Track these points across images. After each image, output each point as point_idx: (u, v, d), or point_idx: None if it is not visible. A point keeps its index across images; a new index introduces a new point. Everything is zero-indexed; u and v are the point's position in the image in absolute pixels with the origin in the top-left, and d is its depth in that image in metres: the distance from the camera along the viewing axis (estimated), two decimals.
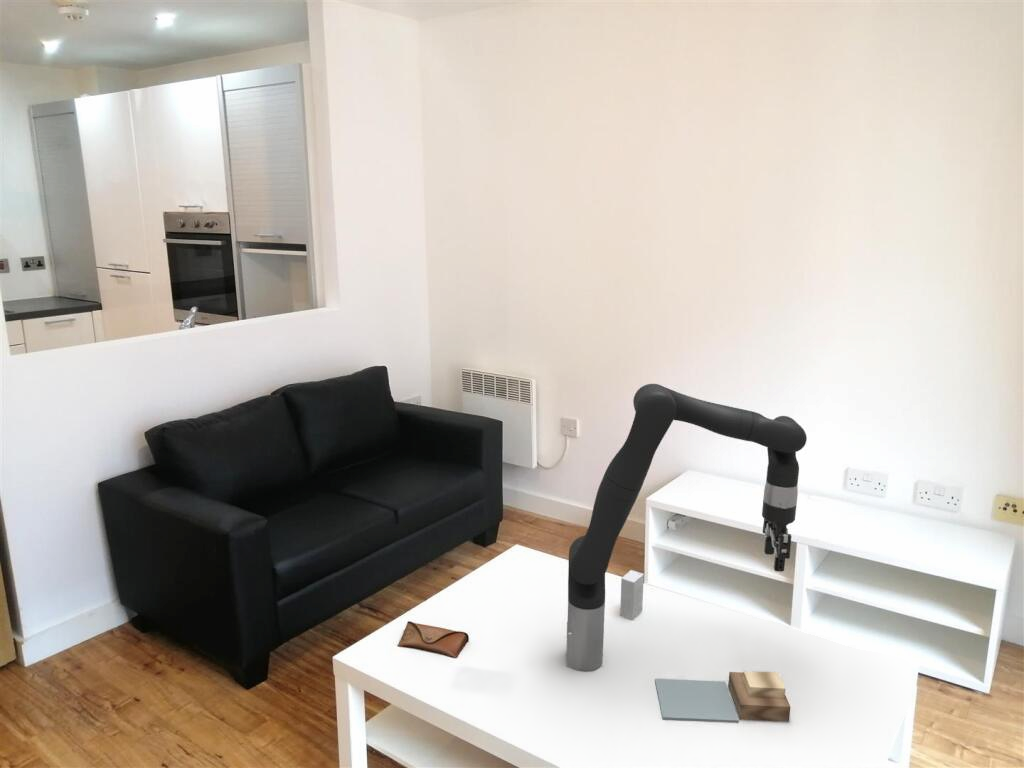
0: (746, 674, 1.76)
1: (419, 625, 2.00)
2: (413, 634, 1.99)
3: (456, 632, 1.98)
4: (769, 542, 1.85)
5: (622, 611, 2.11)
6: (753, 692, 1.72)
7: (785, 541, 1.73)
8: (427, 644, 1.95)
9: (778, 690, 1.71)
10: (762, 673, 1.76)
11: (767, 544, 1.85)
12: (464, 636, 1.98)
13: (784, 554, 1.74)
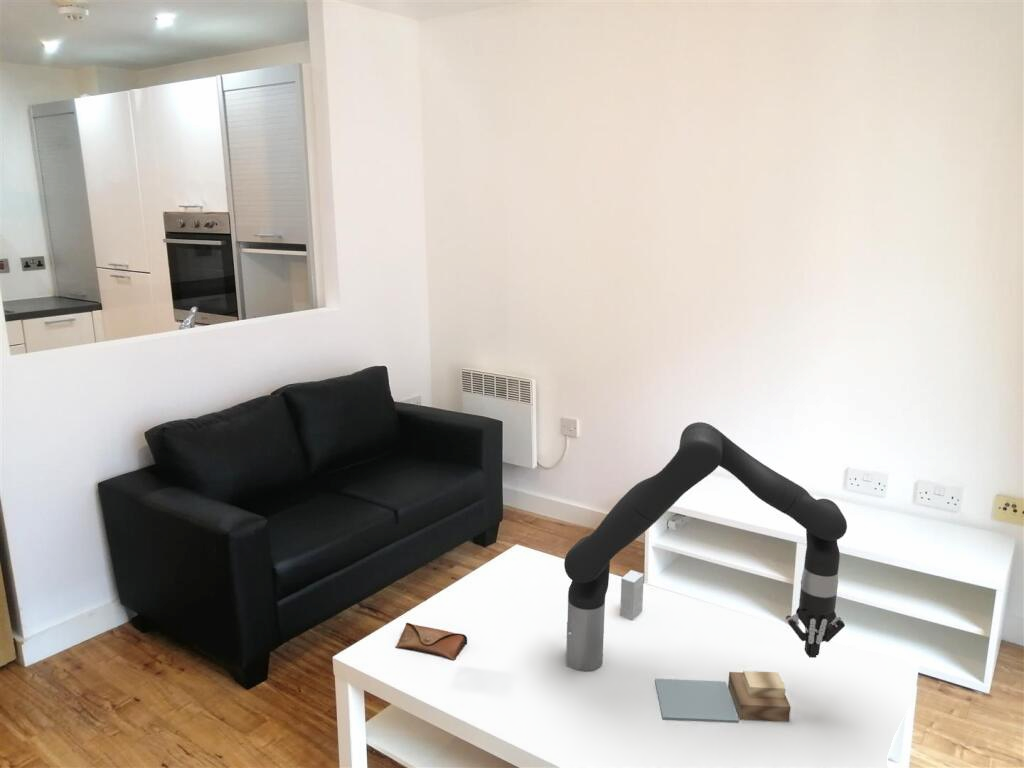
0: (746, 674, 1.76)
1: (417, 627, 2.00)
2: (411, 636, 1.98)
3: (454, 634, 1.97)
4: None
5: (622, 611, 2.11)
6: (753, 692, 1.72)
7: None
8: (425, 646, 1.95)
9: (778, 690, 1.71)
10: (762, 673, 1.76)
11: None
12: (462, 638, 1.97)
13: (826, 634, 1.70)
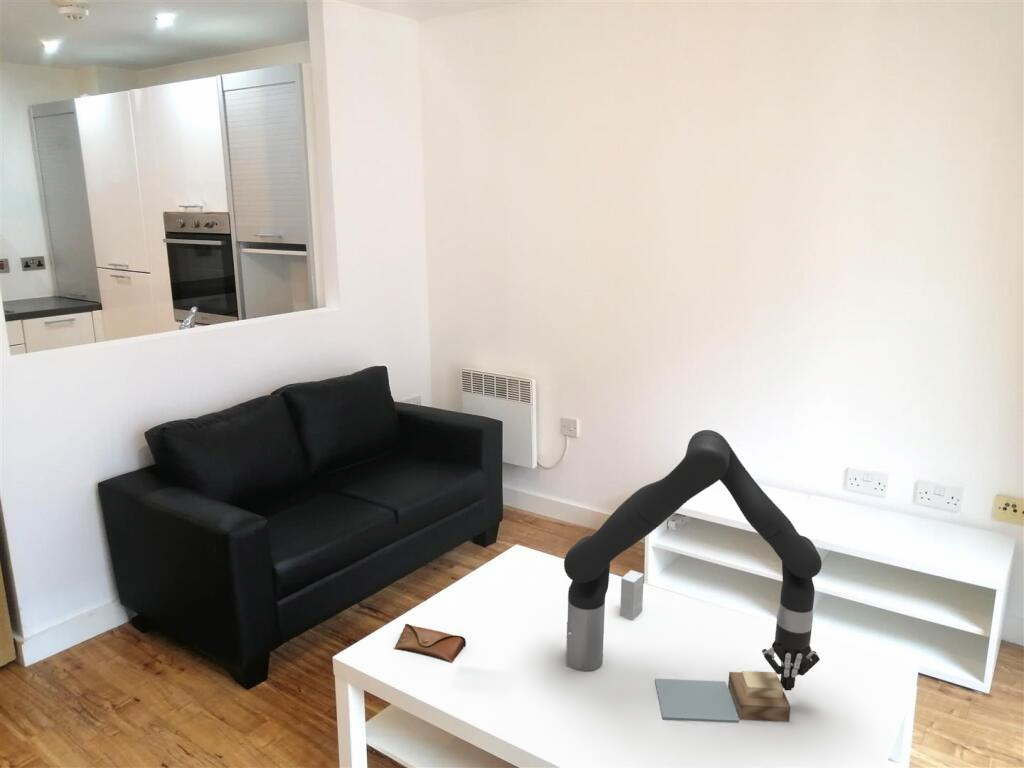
0: (744, 674, 1.76)
1: (416, 628, 1.99)
2: (410, 637, 1.97)
3: (453, 636, 1.96)
4: None
5: (622, 611, 2.11)
6: (750, 692, 1.72)
7: None
8: (423, 648, 1.94)
9: (775, 690, 1.71)
10: (760, 673, 1.76)
11: None
12: (461, 640, 1.96)
13: (801, 667, 1.73)
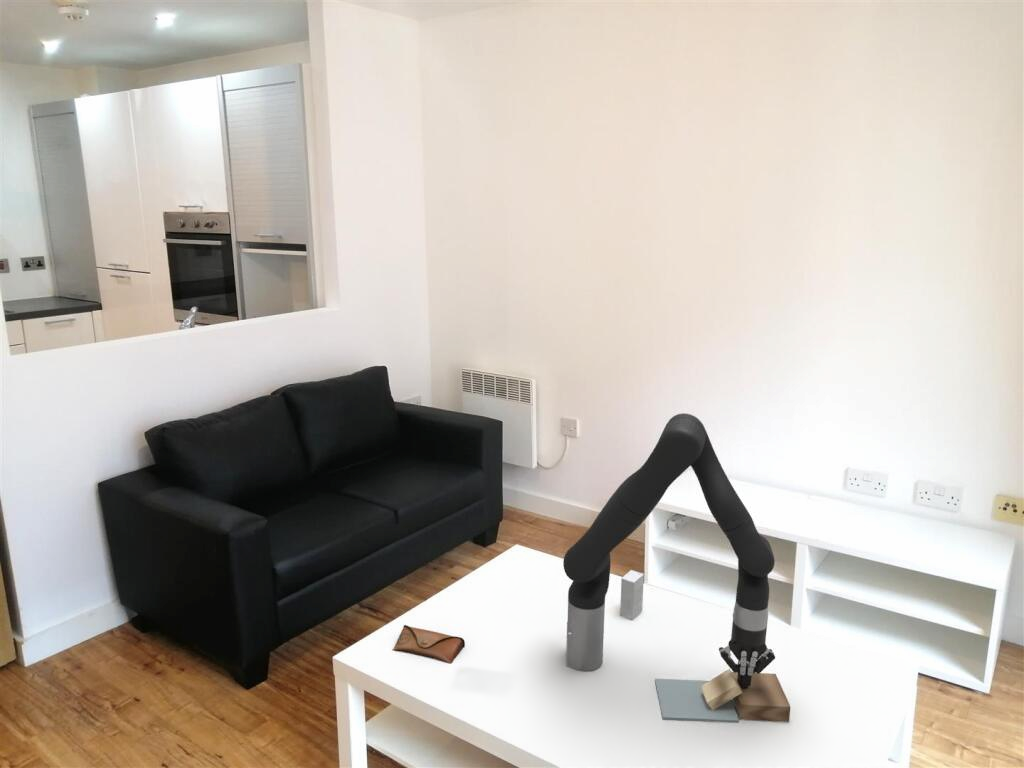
0: (703, 688, 1.77)
1: (415, 629, 1.98)
2: (408, 639, 1.97)
3: (452, 637, 1.95)
4: None
5: (622, 611, 2.11)
6: (713, 705, 1.72)
7: None
8: (422, 649, 1.93)
9: (731, 690, 1.71)
10: (716, 678, 1.77)
11: None
12: (460, 641, 1.95)
13: (758, 665, 1.74)
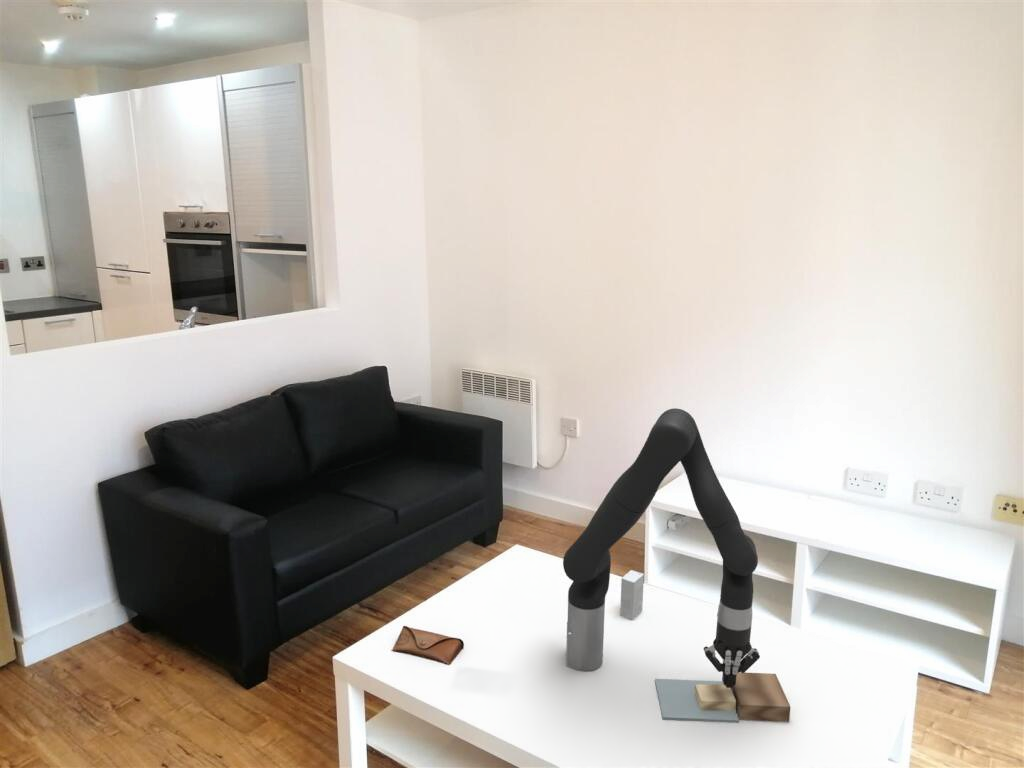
0: (698, 687, 1.76)
1: (414, 630, 1.98)
2: (407, 639, 1.97)
3: (451, 638, 1.95)
4: None
5: (622, 611, 2.11)
6: (704, 706, 1.72)
7: None
8: (421, 650, 1.93)
9: (728, 703, 1.72)
10: (713, 686, 1.77)
11: None
12: (459, 643, 1.95)
13: (742, 665, 1.74)
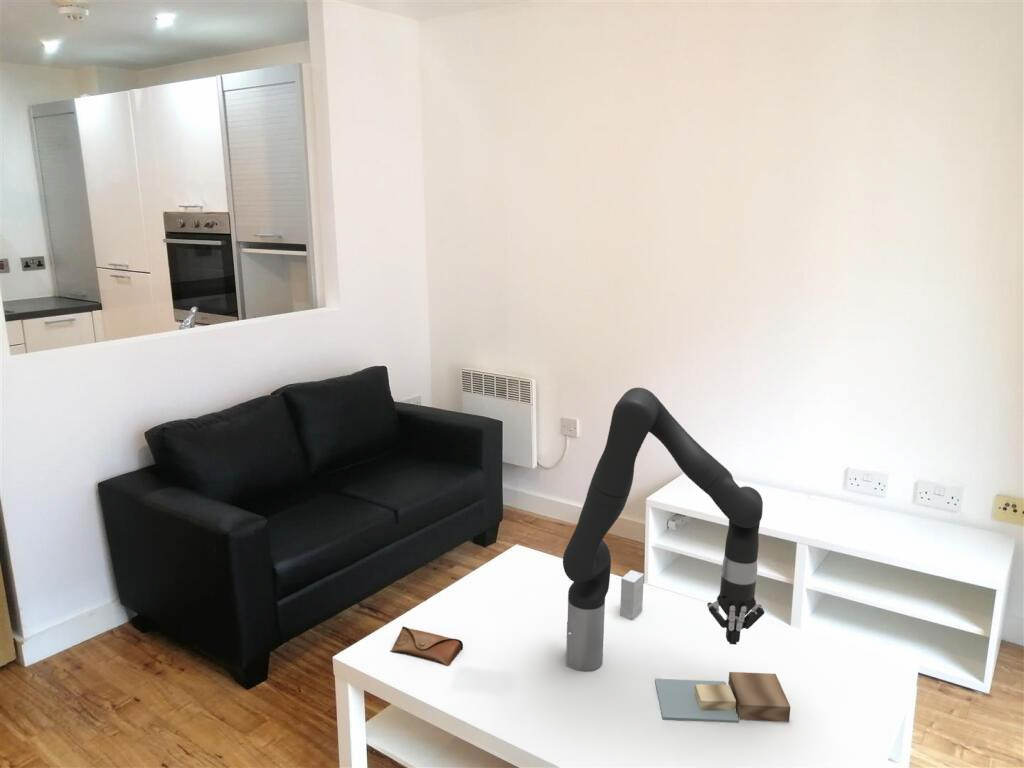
0: (698, 687, 1.76)
1: (413, 631, 1.98)
2: (406, 640, 1.96)
3: (450, 639, 1.95)
4: None
5: (622, 611, 2.11)
6: (704, 706, 1.72)
7: None
8: (420, 651, 1.93)
9: (728, 703, 1.72)
10: (713, 686, 1.77)
11: None
12: (458, 644, 1.94)
13: (746, 621, 1.71)
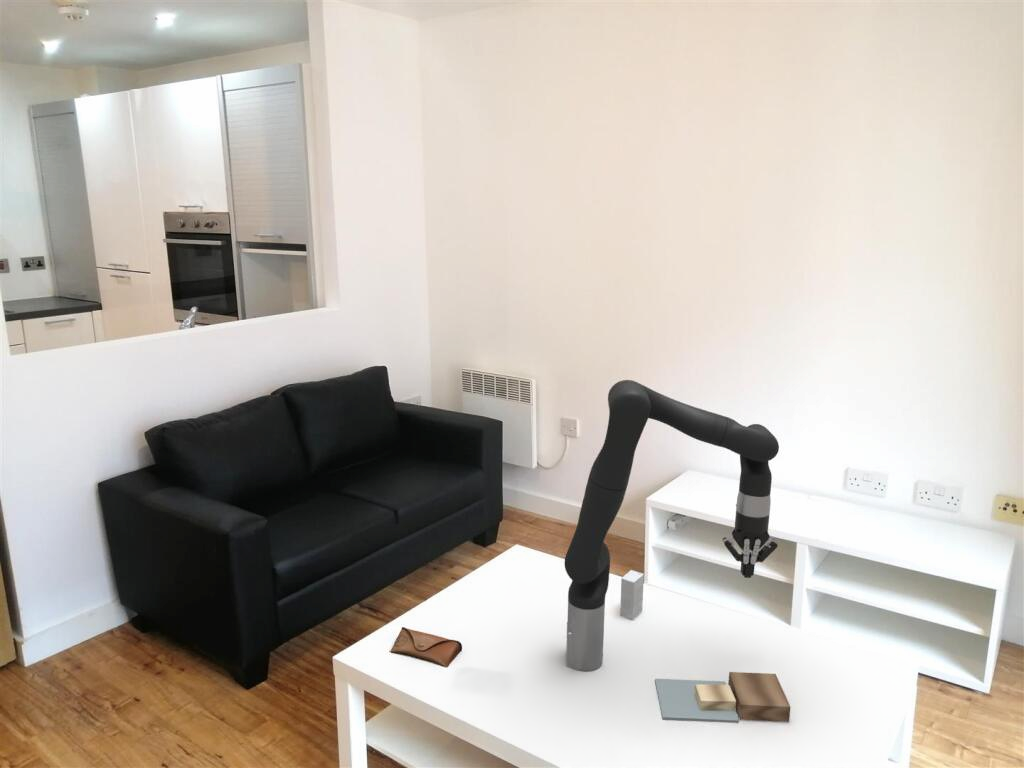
0: (698, 687, 1.76)
1: (412, 632, 1.97)
2: (406, 641, 1.96)
3: (449, 640, 1.94)
4: None
5: (622, 611, 2.11)
6: (704, 706, 1.72)
7: None
8: (418, 652, 1.92)
9: (728, 703, 1.72)
10: (713, 686, 1.77)
11: None
12: (457, 645, 1.94)
13: (760, 555, 1.78)
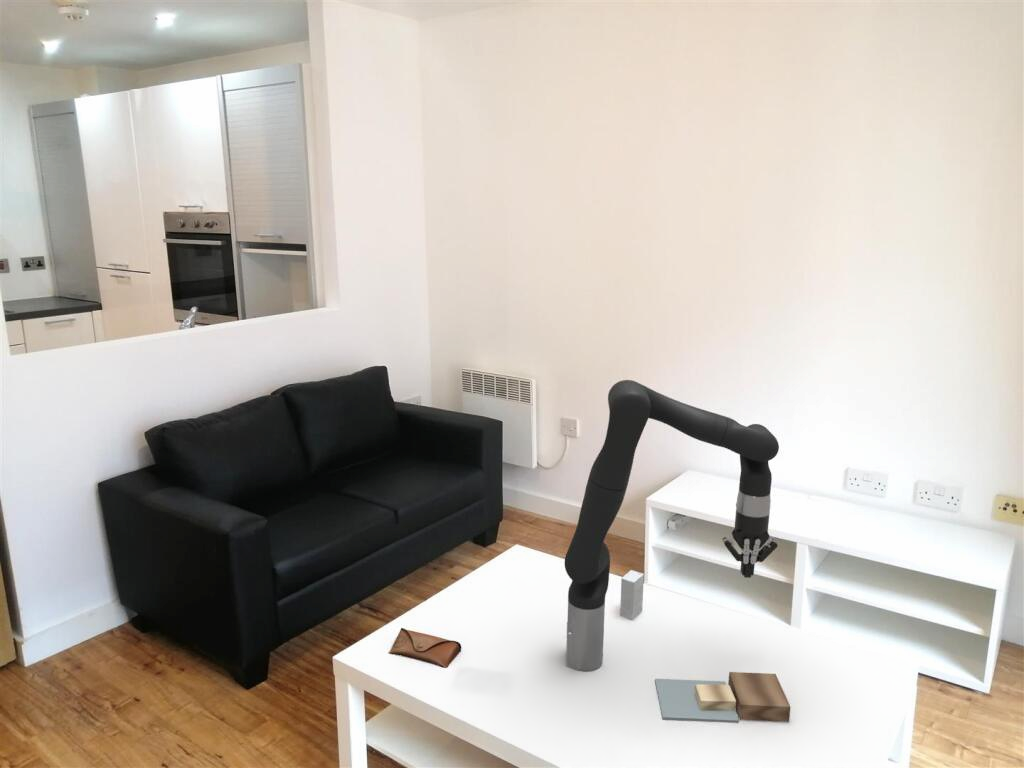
0: (698, 687, 1.76)
1: (411, 632, 1.97)
2: (405, 642, 1.95)
3: (448, 641, 1.94)
4: None
5: (622, 611, 2.11)
6: (704, 706, 1.72)
7: None
8: (418, 652, 1.92)
9: (728, 703, 1.72)
10: (713, 686, 1.77)
11: None
12: (456, 645, 1.94)
13: (760, 555, 1.78)
